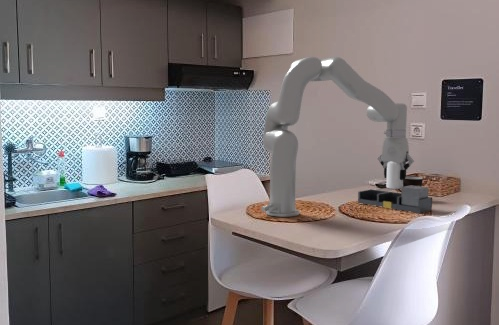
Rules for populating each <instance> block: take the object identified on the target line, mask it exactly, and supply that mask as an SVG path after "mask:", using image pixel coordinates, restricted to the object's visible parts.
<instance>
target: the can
mask: <svg viewBox="0 0 499 325" xmlns="http://www.w3.org/2000/svg"><path fill="white" fill-rule="evenodd" d="M400 170H402V169H401V166H400V163H395V162H392V161H390V162H387V178H386V183H385V184H386V185H385V187H386V188H387V189H388V190H398V189H400V190H402V187H403V180H400Z"/></svg>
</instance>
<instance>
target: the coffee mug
mask: <svg viewBox="0 0 499 325" xmlns="http://www.w3.org/2000/svg"><path fill="white" fill-rule="evenodd" d="M423 179H424V178H423V177H419V176H406V178H405V179H404V180H403V187H405V186H410V185H413V186H421V187H423V186H422V185H423V181H424V180H423ZM397 190H398V191H399V192H400V193H402V189H397Z"/></svg>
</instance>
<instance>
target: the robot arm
mask: <svg viewBox="0 0 499 325" xmlns="http://www.w3.org/2000/svg"><path fill="white" fill-rule="evenodd" d="M324 81H332V83H334V84H335V85H336V86H337V87H338V88H339V89H340V90H341V91H342V92H343V93H344V94H346V96H347V97H349V98H351V99H353V100H356V101H358V102H362V103H363V104H366V105H367V106H368V107H367V109H366V111H365V113H366V116H367V118H368V119H369V120H370V121H372V122H377V123H383V122H384V123H386V130H384V132H383V134H384V135H385V137H384V139H383V142H382V149H381V154H380V155H379V157H378V158H377V161H378V162H379V163H380V165H381V166H382V168H383V175H384V176H383V178H384V179H387V162H390V161H392V162H395V163H400V166H401V169H402V170H400V180H404V179H405V178H406V177H407V170H408V168H410V167H411V166H412V164H414V162H415V160H414V159H413V157H412V156H410V149H409V148H410V147H409V146H410V145H409V141H408V138H407V116H408V114H407V111H408V108H407V107H408V106H407V104H405V103H398V102H397V103H396V102H394V101H393V100H392V99H391V97H390V96H388V95H387V93H385V92H384V91H383V90H381V89H379V88H378V87H376V86H374V85H373V84H371V83H370V82H368V81H366V80H365V79H364V78H363V77H362V76H361V75H359V73H358V72H357V71H356V70H355V69H354V68H353V67H352V66H350V64H349V63H348V62H347V61H346V60H345V59H343V58H342V57H340V56H333V57H328V58H321V59H320V58H318V57H315V56H308V57H304V58H301V59H296V60H294V61H293V62H292V63H291V64H290V66H289V70H288V71H287V72H286V73H285V75H284V77H283V80H282V83H281V86H280V91H279V95H278V99H277V101H275V102H273V103H271V105H270V106H269V107H268V109H267V112H266V115H265V122H264V127H263V135H262V144H263V147H264V149H265V150H266V151H267V152H268V153H271V159H270V165H269V166H270V170H269V171H270V172H269V174H270V176H269V180H270V182H269V184H270V185H269V202H267V205H263V206H261V208H260V209H261V212H265V214H266V215H268V216H272V217H276V218H277V217H278V218H279V217H280V218H288V217H290V218H291V217H296V216H298V215H300V210H299V209H296V192H297V191H296V188H297V187H296V180H297V178H296V176H297V156H298V151H299V140H298V138H297V135H296V134H295V133H294V132H293V131H291V130H288V127H293V126H295V125H296V124H297V123H298V121H299V119H300V115H301V110H302V109H301V107H302V102H303V96H304V91H305V88H306V87H307V85H308V84H309V83H310V82H324Z"/></svg>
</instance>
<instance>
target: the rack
mask: <svg viewBox="0 0 499 325" xmlns="http://www.w3.org/2000/svg"><path fill="white" fill-rule="evenodd" d="M401 191H402V193H401V192H400V193H399V192H394V191H393V192H392V191H386V190H378V189H366V190H360V191H358V192H357V193H358V194H357V204H358V203H363V204H370V205H376V206H382V207H386V208H392V209H391V210H393V209H397V210H396V211H399V210H404V211H403V212H406V211H411V212H410V213H412V212H416V213H415V214H418V213H421V214H423V213H422V212H425V213H428V212H432V210H433V197H432V196H429V187H427V186H422V187H421V186H413V185H410V186H405V187H402V189H401ZM386 208H385V209H386ZM427 211H428V212H427Z"/></svg>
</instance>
